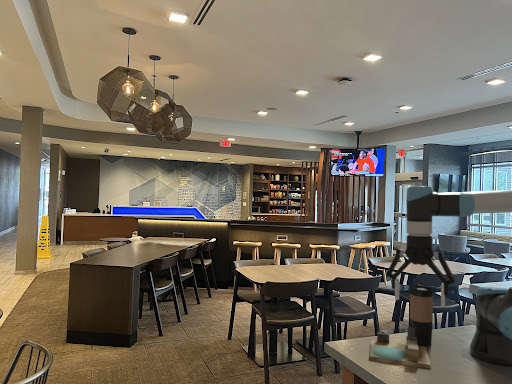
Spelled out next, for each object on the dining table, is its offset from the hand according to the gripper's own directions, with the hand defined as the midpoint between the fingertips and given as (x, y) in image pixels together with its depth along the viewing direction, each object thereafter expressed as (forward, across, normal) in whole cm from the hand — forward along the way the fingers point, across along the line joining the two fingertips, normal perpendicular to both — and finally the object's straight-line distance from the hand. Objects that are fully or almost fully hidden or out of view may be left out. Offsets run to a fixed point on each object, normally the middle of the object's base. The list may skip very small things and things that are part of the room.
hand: (419, 302), depth 125 cm
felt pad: (+18, +10, -1) cm, 21 cm away
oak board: (+19, +7, -5) cm, 21 cm away
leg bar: (+18, +3, -3) cm, 18 cm away
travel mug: (+20, +4, -21) cm, 29 cm away
